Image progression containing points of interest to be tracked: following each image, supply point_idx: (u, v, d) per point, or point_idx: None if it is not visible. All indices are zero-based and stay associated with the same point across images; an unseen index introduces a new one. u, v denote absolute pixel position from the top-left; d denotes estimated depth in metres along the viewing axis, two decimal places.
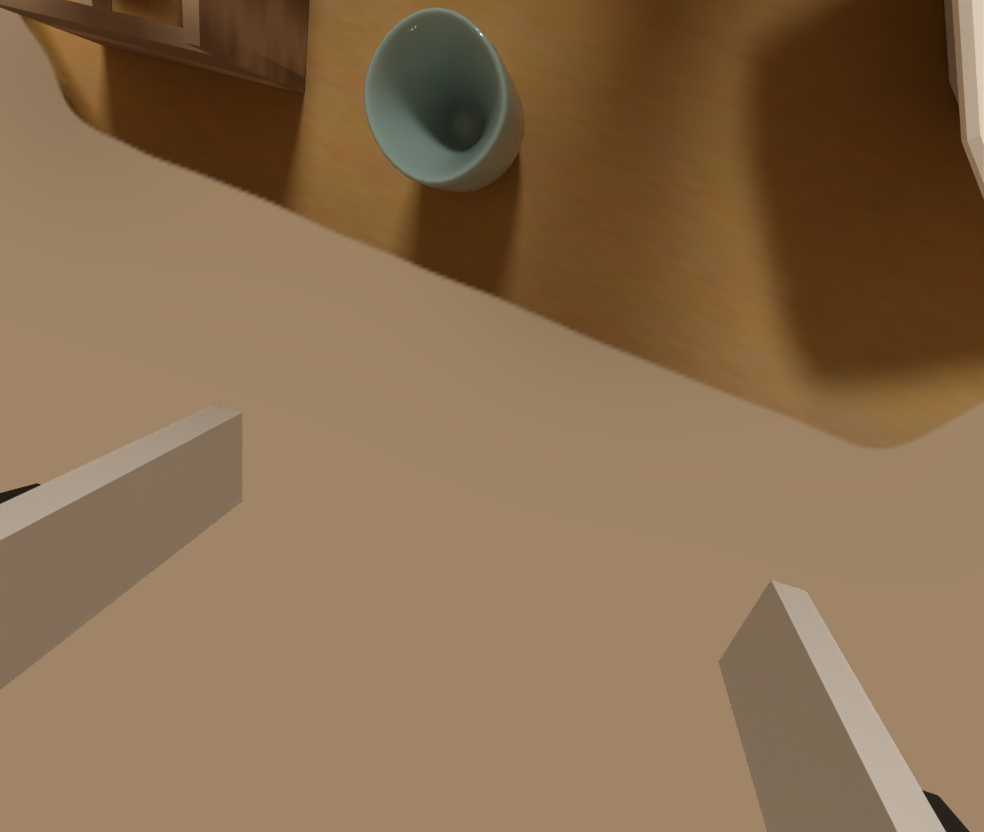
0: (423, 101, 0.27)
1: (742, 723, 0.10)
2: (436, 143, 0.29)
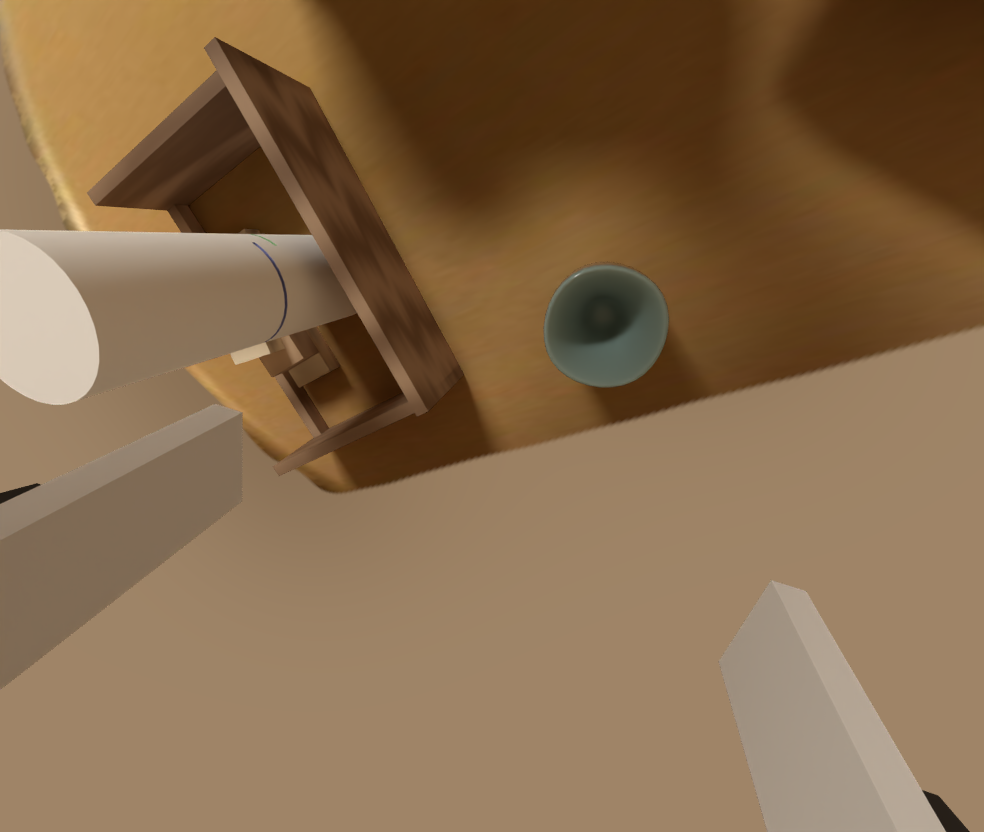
0: (574, 327, 0.33)
1: (742, 723, 0.10)
2: (599, 343, 0.34)
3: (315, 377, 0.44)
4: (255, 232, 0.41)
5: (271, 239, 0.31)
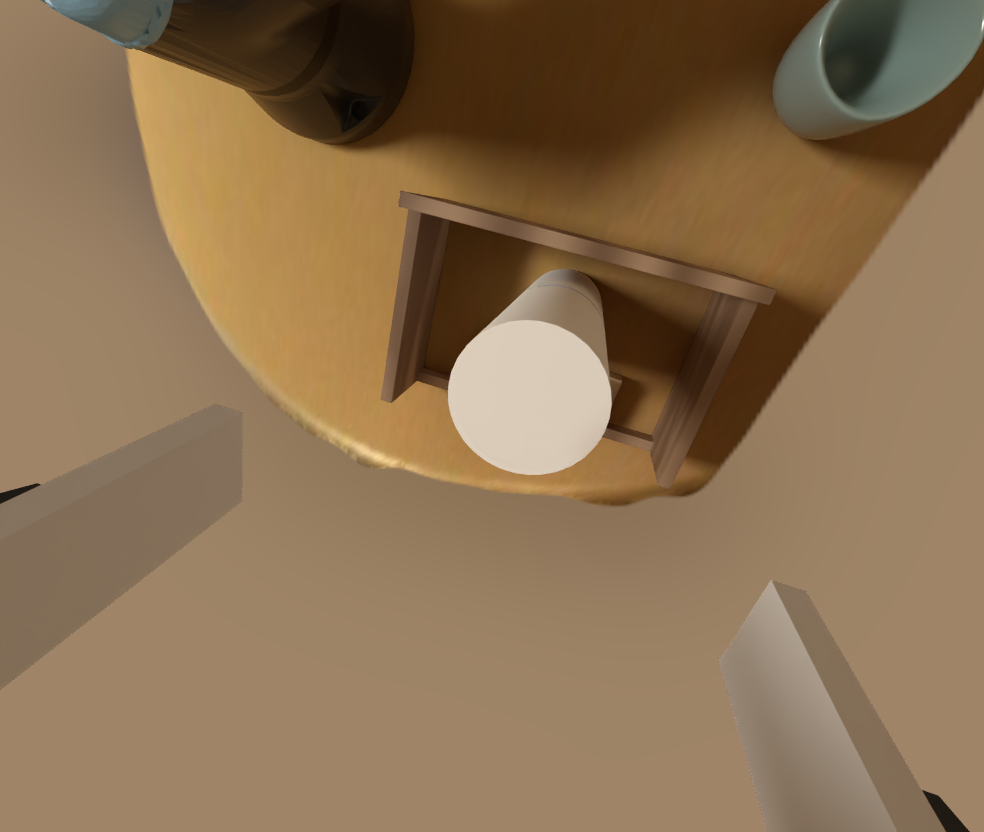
0: None
1: (742, 723, 0.10)
2: (875, 85, 0.28)
3: (613, 397, 0.43)
4: None
5: (535, 285, 0.32)
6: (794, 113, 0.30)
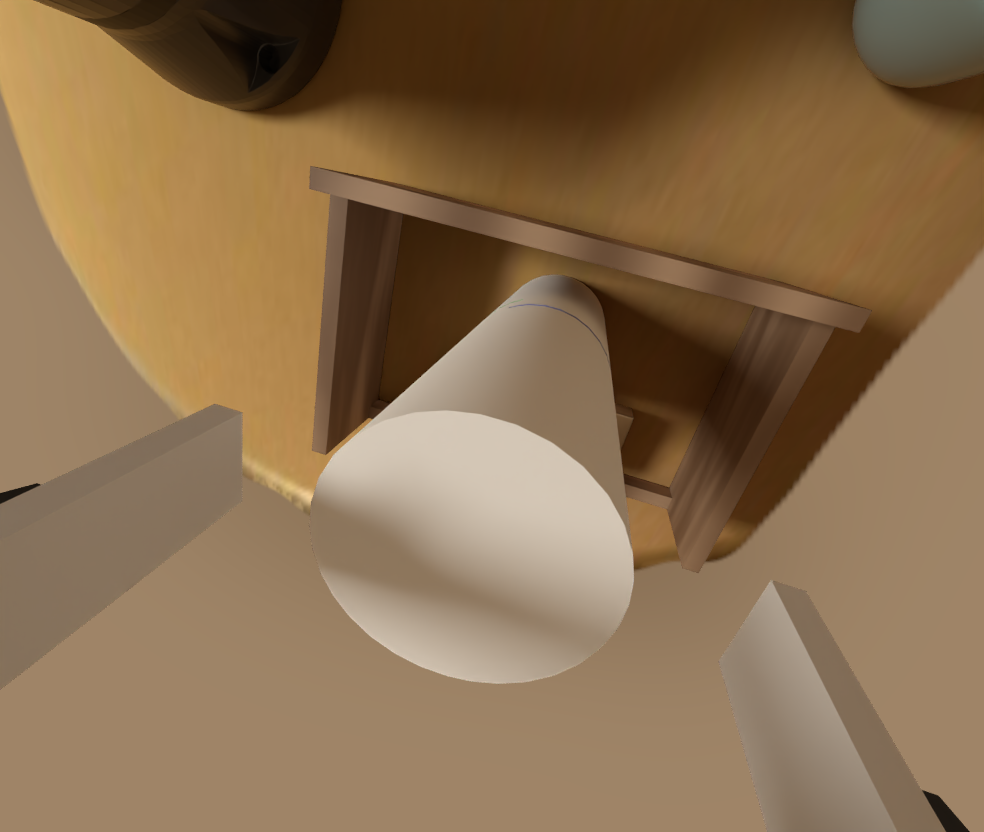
0: None
1: (742, 723, 0.10)
2: None
3: (623, 439, 0.33)
4: None
5: (509, 302, 0.22)
6: (897, 41, 0.20)
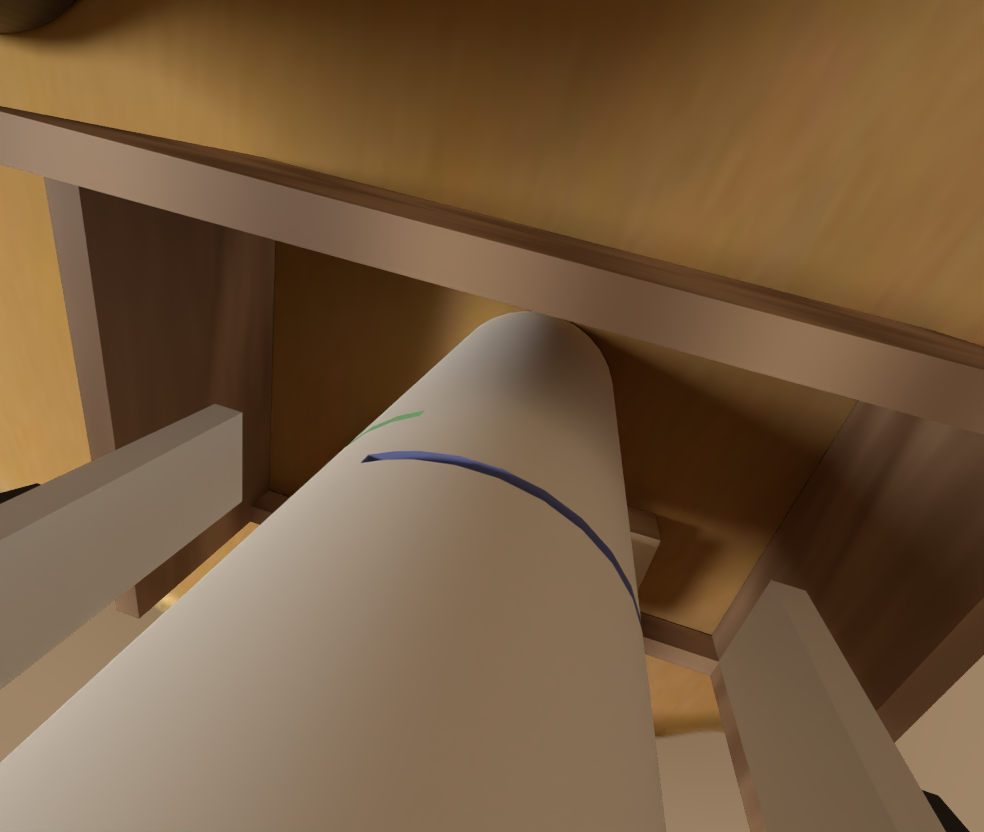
0: None
1: (742, 723, 0.10)
2: None
3: (643, 570, 0.20)
4: None
5: (399, 411, 0.10)
6: None
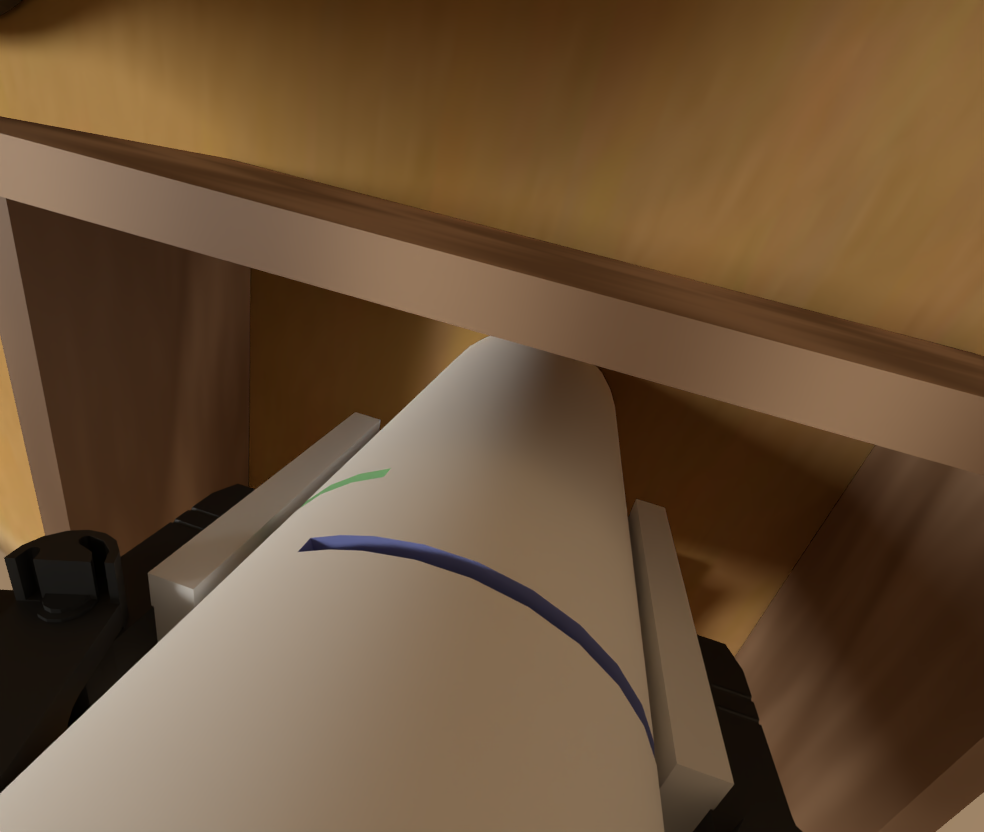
0: None
1: None
2: None
3: None
4: None
5: (363, 466, 0.08)
6: None
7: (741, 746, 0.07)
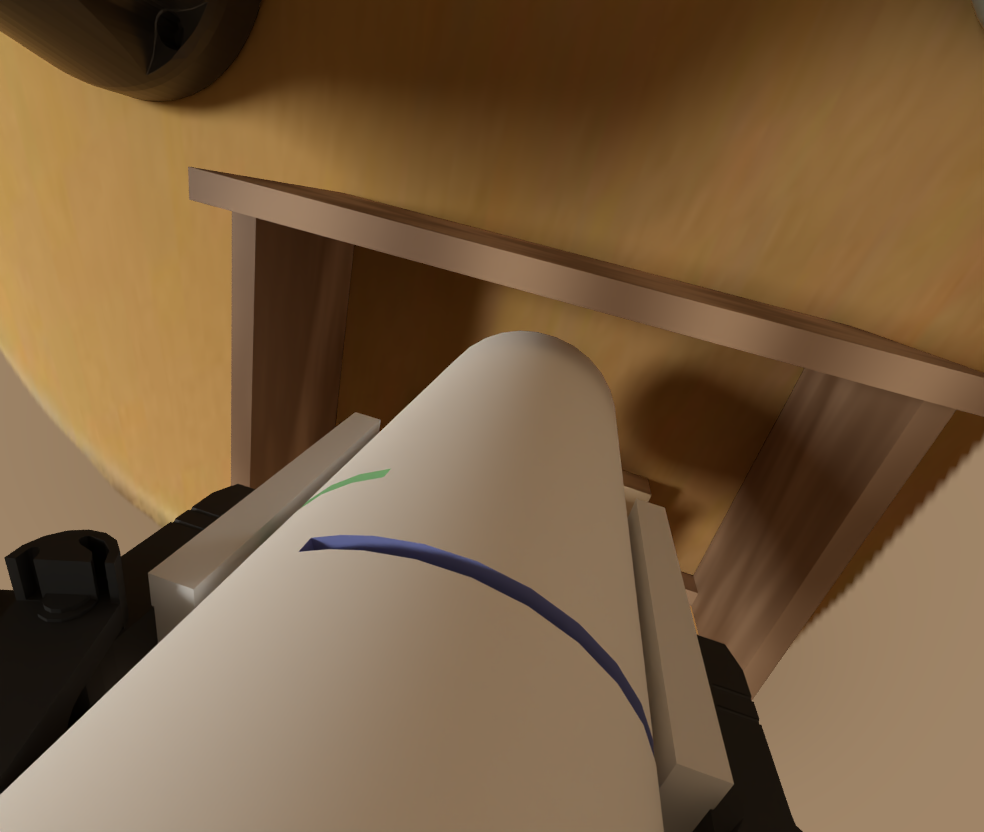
0: None
1: None
2: None
3: None
4: None
5: (363, 466, 0.08)
6: None
7: (741, 746, 0.07)
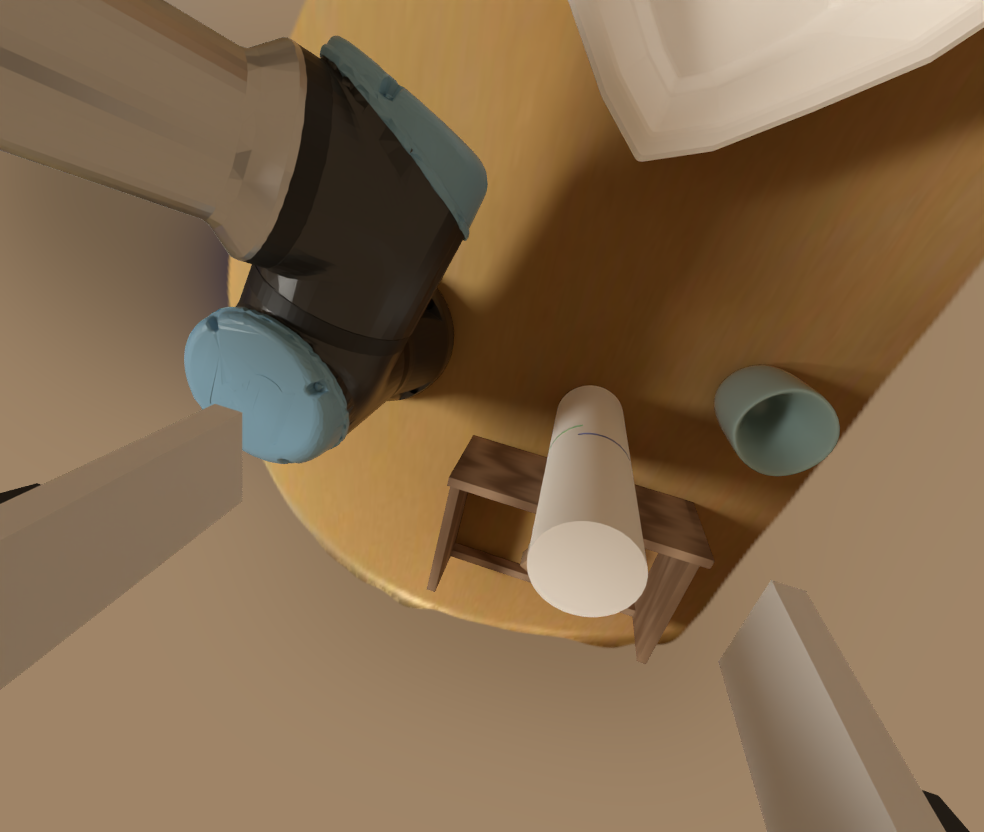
0: (754, 434, 0.41)
1: (742, 723, 0.10)
2: (779, 428, 0.41)
3: None
4: None
5: (574, 424, 0.40)
6: None
7: None
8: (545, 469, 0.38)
